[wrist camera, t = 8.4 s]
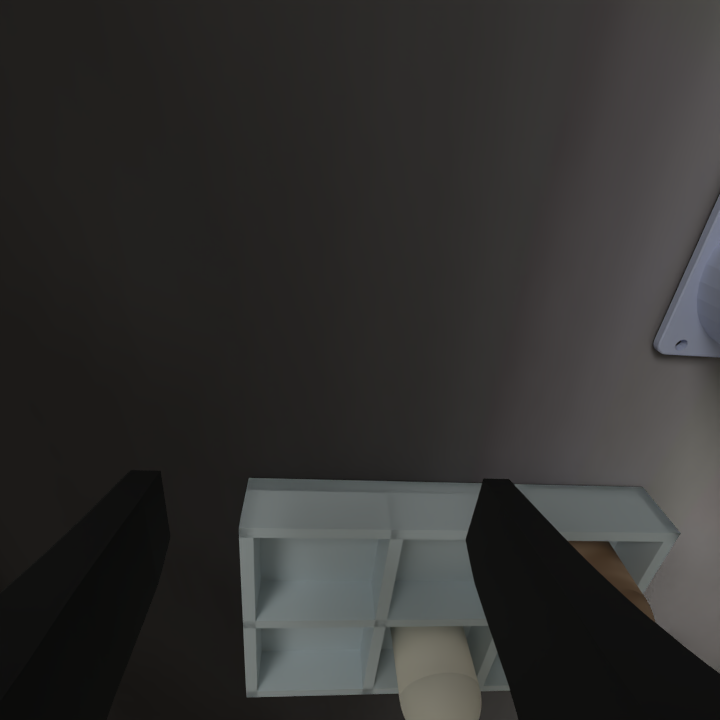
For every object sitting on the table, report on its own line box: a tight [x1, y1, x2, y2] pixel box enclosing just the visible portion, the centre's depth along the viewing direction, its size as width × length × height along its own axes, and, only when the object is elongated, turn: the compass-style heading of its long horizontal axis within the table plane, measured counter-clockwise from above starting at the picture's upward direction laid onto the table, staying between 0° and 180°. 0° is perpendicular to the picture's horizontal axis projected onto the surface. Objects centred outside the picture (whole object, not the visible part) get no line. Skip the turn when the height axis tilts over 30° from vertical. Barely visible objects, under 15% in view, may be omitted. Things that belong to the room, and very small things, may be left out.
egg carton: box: [239, 478, 680, 697], centre depth 25 cm, size 20×14×3 cm
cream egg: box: [390, 626, 481, 720], centre depth 25 cm, size 4×4×6 cm
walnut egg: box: [568, 541, 655, 622], centre depth 22 cm, size 4×4×6 cm
